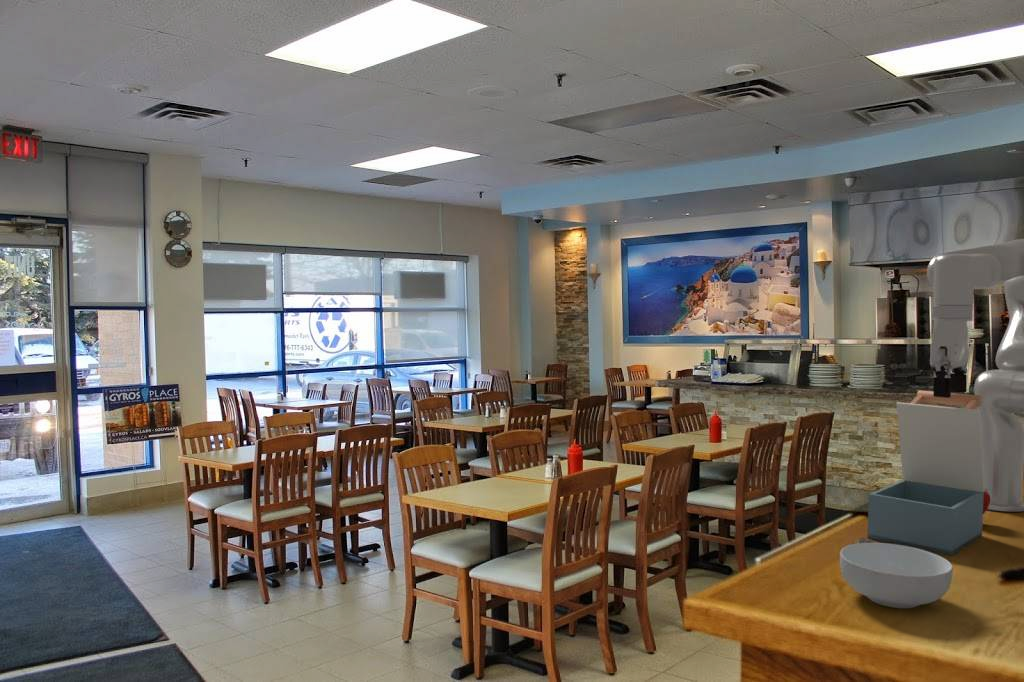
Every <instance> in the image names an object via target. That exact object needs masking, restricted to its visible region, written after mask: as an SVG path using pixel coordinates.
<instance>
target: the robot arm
mask: <svg viewBox="0 0 1024 682" xmlns="http://www.w3.org/2000/svg"><path fill="white" fill-rule="evenodd" d="M926 276H927V280H928V282H929V284H930V285H932V287H933V293H932V294H933V295H932V296H933V297H932V321H934V322H933V327H932V332H931V333H932V334H931V342H930V343H931V346H930V356H929V365H930V366H931V367H932V368H933V370H934V372H933V391H934V392H933V395H934V396H935V397H945V398H949V397H950V396H951V393H958V394H966V393H967V383H968V382H967V381H968V379H967V378H968V367H967V366H968V363H969V358H970V357H969V355H970V325H969V322H973V320H974V317H973V316H974V294H975V293H974V292H975V291H974V290H985V289H990V288H993V287H994V286H996V285H997V284H998V283H1002V282H1004V283H1003V289H1004V296H1005V302H1006V306H1007V312H1008V318H1009V321H1008V325H1007V327H1006V329H1005V332H1004V334H1003V336H1002V339H1001V341H1000V344H999V346H998V349H997V350H996V351H997V352H996V355H995V365H996V367H997V368H998V369H990V370H985V371H983V372H981V373H980V374H978V375H977V377H976V379H975V382H974V385H973V389H974V390H973V391H974V395H980V396H981V405H980V407H976V410H980V421H981V438H982V455H983V472H984V488H985V489H988V490H985V491H986V492H987V493H988V494H989V495H990V503H989V506H988V509H987V510H990V511H996V512H997V511H999V512H1008V513H1011V512H1012V513H1014V512H1015V513H1020V512H1024V499H1023V483H1024V482H1023V481H1024V480H1023V479H1024V427H1023V424H1022V423H1021V421H1020V420H1019V418H1018V417H1017V416H1016V414H1024V238H1018V239H1013V240H1008V241H1006V242H1001V243H1000V242H999V243H996V244H991V245H984V246H979V247H972V248H966V249H958V250H953V251H946V252H943V253H939V254H936V255H935V256H933V257H932V258H931V260H930V261H929V263H928V265H927V269H926Z"/></svg>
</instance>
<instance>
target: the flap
mask: <svg viewBox="0 0 1024 682" xmlns="http://www.w3.org/2000/svg"><path fill="white" fill-rule="evenodd" d="M933 392H934V390H922V389H919V390H917V393H916V396H915V397H914V398H913V400H911V401H910V402H900V401H897V402H896V404H895V405H896V416H897V425H898V426H897V428H898V439H899V440H898V441H899V449H900V458H901V459H900V463H901V471H902V472H901V473H902V480H908V481H914V482H920V483H927V484H933V485H939V486H946V487H952V488H958V489H965V490H972V491H978V492H984V491H985V489H984V472H983V455H982V438H981V421H980V410H977V407H980V405H981V396H980V395H975V394H967V393H958V392H951V396H950V397H949V398H945V397H935V396H934V395H933ZM922 402H923V403H924V402H925V403H932V404H933V405H932V404H921V403H922ZM934 404H942V405H943V404H944V405H945V404H946V405H954V406H964V407H953V406H942V405H934Z"/></svg>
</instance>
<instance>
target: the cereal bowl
mask: <svg viewBox="0 0 1024 682" xmlns="http://www.w3.org/2000/svg"><path fill="white" fill-rule="evenodd" d="M851 544H852V543H851ZM851 544H848V545H847V546H844V547H842V548H843V549H842V548H841V550H840V552H839V566H840V571H841V574H842V577H843V578H844V581H845V582H846V583H847V584H848V585H849V587H851V589H854V590H855V591H856V592H858V593H860V594H861V595H864V596H865V597H867V599H868V600H870V601H871V602H872V603H875V604H878V605H881V606H885V607H889V608H895V609H912V608H916V607H918V606H920V605H926V604H931V603H933V602H937V601H938V600H939V599H941V598H943V596H945V595H946V594H947V592H948V591H949V589H950V587H951V584H952V580H953V579H952V578H953V570H954V568H953V567H954V566H953V565H952V563H951V562H950V561H949V560H948V559H946V558H944V557H943V556H940V555H938V554H937V553H934V552H931V551H928V550H923V549H918V548H914V547H909V546H904V545H899V544H895V543H888V542H885V543H884V542H883V543H882V542H877V543H857V544H852V545H851Z"/></svg>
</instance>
